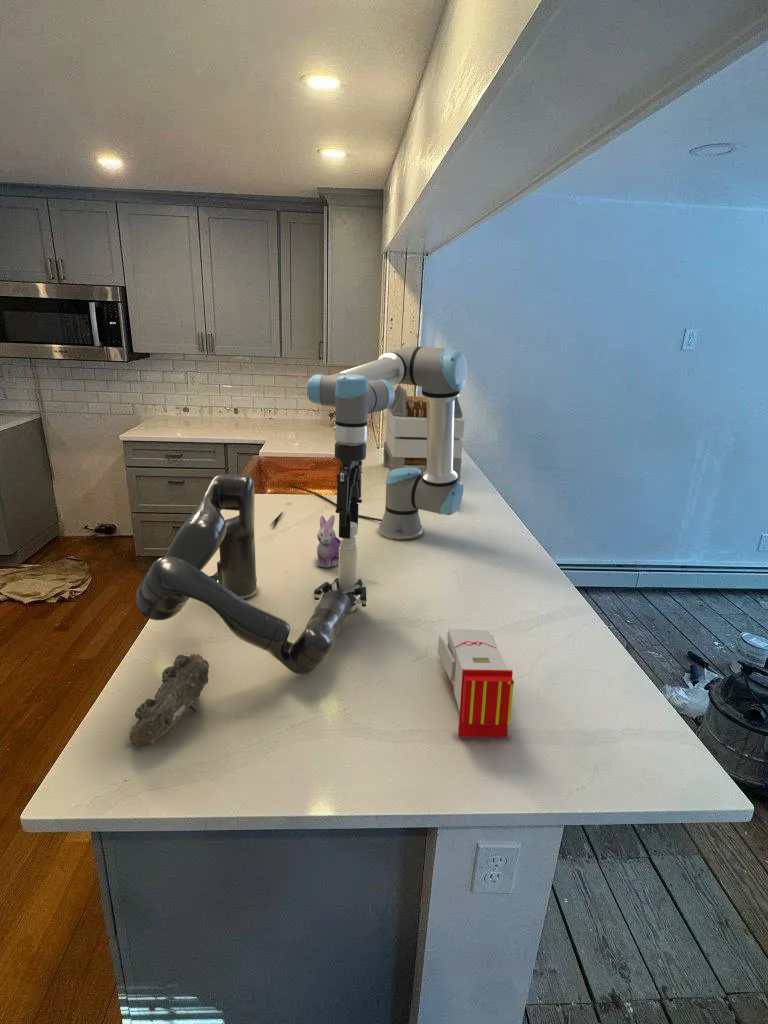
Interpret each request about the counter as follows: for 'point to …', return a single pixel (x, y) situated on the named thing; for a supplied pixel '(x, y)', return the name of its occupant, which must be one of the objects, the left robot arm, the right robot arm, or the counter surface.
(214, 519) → the left robot arm
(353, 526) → the cap
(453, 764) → the counter surface
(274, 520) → the feather
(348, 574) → the bottle
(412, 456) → the grey slatted box
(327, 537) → the figurine
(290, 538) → the counter surface
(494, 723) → the toy
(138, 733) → the fossil
